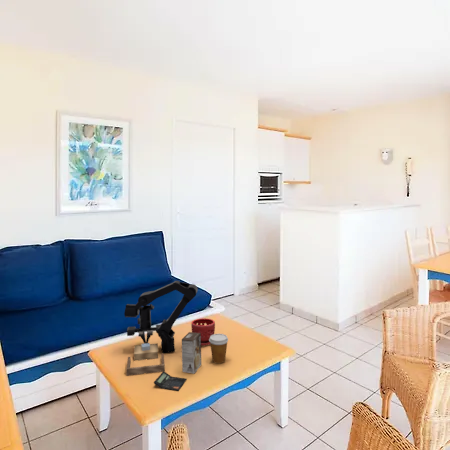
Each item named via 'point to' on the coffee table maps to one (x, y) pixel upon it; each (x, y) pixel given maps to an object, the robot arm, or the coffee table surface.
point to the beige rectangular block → (146, 352)
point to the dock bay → (145, 368)
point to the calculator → (169, 382)
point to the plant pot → (204, 329)
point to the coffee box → (191, 352)
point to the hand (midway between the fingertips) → (146, 345)
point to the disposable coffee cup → (218, 347)
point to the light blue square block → (145, 346)
